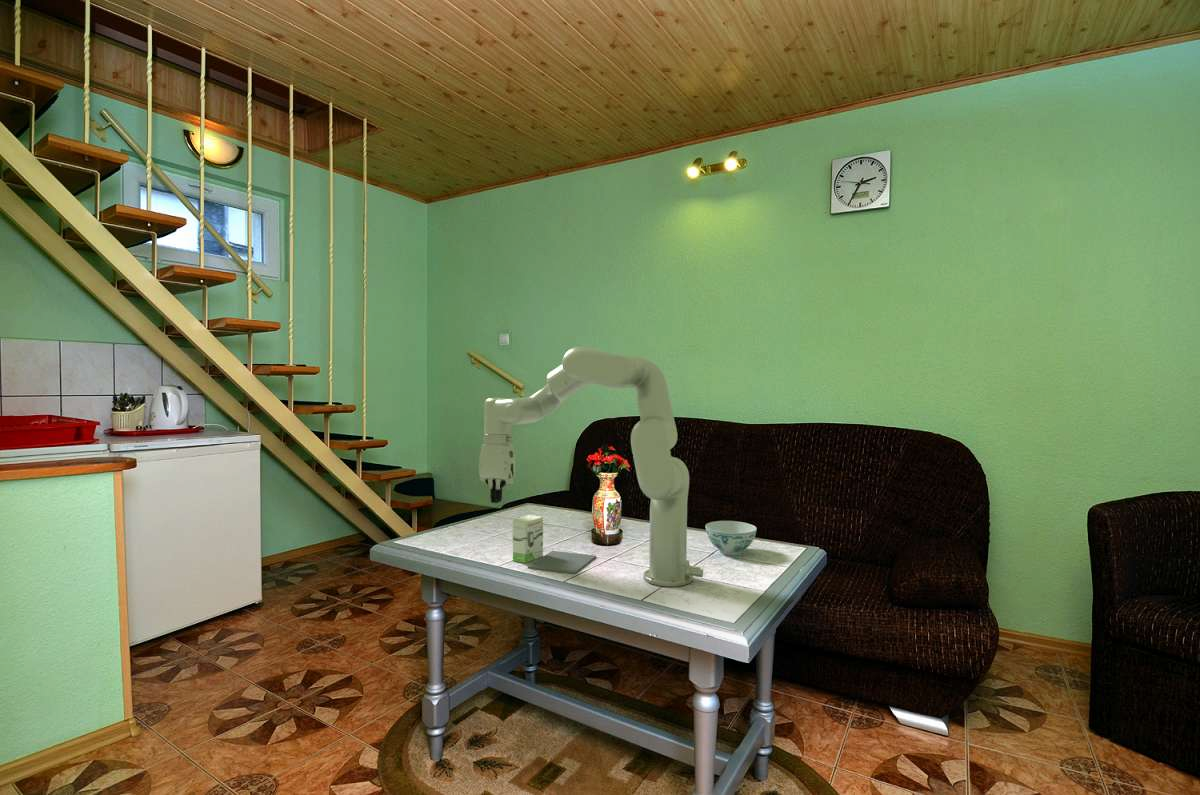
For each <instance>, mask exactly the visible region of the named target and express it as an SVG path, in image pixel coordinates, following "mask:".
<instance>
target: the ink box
mask: <svg viewBox="0 0 1200 795" xmlns="http://www.w3.org/2000/svg"><path fill="white" fill-rule="evenodd" d="M543 556H544V517H543V516H538V515H533V514H527V515H525V516H521V517H518V518H514V519H513V520H512V562H518V563H523V564H527V563H530V562H531V561H534V560H536V559H537V560H538V559H540V558H542V557H543Z"/></svg>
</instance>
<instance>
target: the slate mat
mask: <svg viewBox="0 0 1200 795" xmlns="http://www.w3.org/2000/svg"><path fill="white" fill-rule="evenodd" d="M596 558H597V555H594V554H586V553H585V554H584V553H575V552H569V551H568V552H567V551H559V550H551V551H550V552H548V553H546V554H544V555H543V556H541V557H539V558H537V560H535V561H534V562H532V563H531V564H529V565H528V566H527V569H531V570H532V569H533V570H540V571H545V572H555V573H564V574H570V573H571V574H572V575H576V574H577V573H578V572H580V571H581V570H582V569H583V568H585V566H587V565H588V564H590V563H591V562H592V561H594V560H595V559H596Z"/></svg>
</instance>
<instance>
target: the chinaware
mask: <svg viewBox="0 0 1200 795" xmlns="http://www.w3.org/2000/svg"><path fill="white" fill-rule="evenodd" d="M757 529H758V528H757V527H756V526H755V525H753V524H750V523H747V522H743V521H735V520H717V521H711V522H708V523H706V524H705V532H706V534H707V538H708V539H709V541H710V543H711V544H712V545H713V546H714V547H715V548H717V549H718V551H719V553H720V554H722V555H725V556H740V555H742V554H743V551H744V550H746V549H747V548H749V547H750V545H751V544H752V543H753V542H754V540H755V537H756V534H757Z"/></svg>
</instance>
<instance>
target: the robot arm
mask: <svg viewBox="0 0 1200 795" xmlns="http://www.w3.org/2000/svg"><path fill="white" fill-rule="evenodd" d="M546 383H547V384H545V386H544V387H543V388H541V389H540V390H538V391H537V392H535V393H534V394H532V395H531V396H529V397H519V398H518V397H515V398H514V397H513V398H505V397H489V398H487V399H485V401H484V408H483V409H484V412H483V413H484V414H483V416H484V421H483V422H484V423H483V425H484V426H483V444H481V449H480V454H479V462H478V474H479V481H481V482H483V483H485V484H487V486H488V489H490V497H489V498H490V503H491V504H493V503H494V504H497V503H500V502H502V499H503V489H504V487H505V486H506V485H508V484H513V483H514V481H515V480H514V477H516V458H515V457H516V456H515V451H514V446H513V444H511V442H514V441H515V438H514V436H511V425H515V426H517V425H525V424H532V423H536V422H537V421H540V420H542V419H543V418H544V417H546V416H547V415H549V414H551V413H552V412H554V411H555V410H557V409H558V408H559V407H560V405H562V403H564V401H565V400H566V399H567V398H569V397H570V396H572V395H573V394H575V393H576V392H577V391H579V390H580V389H582V388H584V387H585V386H586V385H589V384H590V383H591V384H594V385H599V386H601V387H602V386H603V387H608V388H612V389H629V388H630V389H635V391H636V399H637V400H636V403H637V409H638V412H639V416H640V417H639V418H640V420H639V421H637V423H636V424H635V425H634V427H633V428H632V430H631V433H630V446H631V452H632V455H633V456H632V458H633V463H634V467H635V473H636V478H637V482H638V485H639V488H640V490H641V491H642V493H643V494H644V495H645V496H646V497H647V498H649V499H650V504H649V569H646V570H645V571H644V572H643V579H644V580H645V581H646V582H647V583H649V584H652V585H655V586H660V587H669V588H670V587H671V588H672V587H682V586H686V585H688V584H691V582H693V577H697V578H703V577H704V569H701V567H700V566H692V565H691V564H690V560H689V559H688V560H687V556H688V554H687V550H688V549H687V541H688V540H687V539H688V538H687V537H688V536H687V535H688V534H687V533H688V532H687V530H688V528H687V526H688V523H687V522H688V499H689V498H688V496H689V488H690V474H689V473H690V472H689V470H688V467H687V465H686V464H685V463H684V461H682V460H681V459H680V458H678V457H674V456H672V455H671V454H672V452H671V449H673V448H674V447H675V445H676V444H677V441H678V431H677V425H676V422H675V417H674V412H673V407H672V403H671V399H670V393H669V390H668V389H669V388H668V384H667V380H666V377H665V375H664V373H663V371H662V370H661V368H660V367H659V366H658V365H657V364H656V363H654V362H653V361H652V360H651V361H650V360H648V359H646V358H643V357H640V356H639V357H638V356H633V355H624V354H623V355H622V354H616V353H609V352H605V351H601V350H598V349H596V348H593V347H586V346H574V347H572V348H570V349H568V350H567V352H565V353H564V355H563V358H562V361H561V364H560V365H559V366H557V367H556V368H554V369H553V370H551V371H549V372H548V373H547V375H546Z"/></svg>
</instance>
